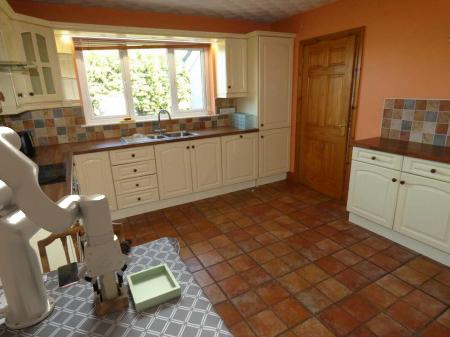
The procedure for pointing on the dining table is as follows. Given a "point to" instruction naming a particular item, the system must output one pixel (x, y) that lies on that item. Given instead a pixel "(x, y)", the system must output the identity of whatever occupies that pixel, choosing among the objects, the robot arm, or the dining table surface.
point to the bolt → (125, 245)
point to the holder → (111, 302)
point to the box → (108, 286)
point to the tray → (152, 287)
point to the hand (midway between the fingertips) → (109, 288)
